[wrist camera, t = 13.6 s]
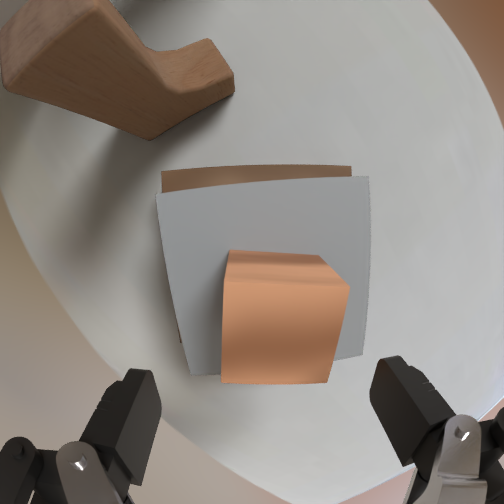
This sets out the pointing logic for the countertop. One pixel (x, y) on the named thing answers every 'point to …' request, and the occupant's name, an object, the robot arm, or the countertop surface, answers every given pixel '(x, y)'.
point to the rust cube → (280, 318)
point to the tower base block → (244, 176)
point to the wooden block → (107, 67)
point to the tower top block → (262, 249)
